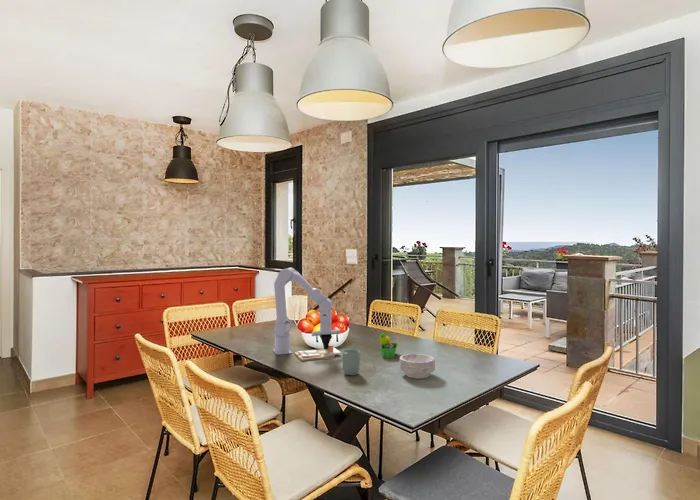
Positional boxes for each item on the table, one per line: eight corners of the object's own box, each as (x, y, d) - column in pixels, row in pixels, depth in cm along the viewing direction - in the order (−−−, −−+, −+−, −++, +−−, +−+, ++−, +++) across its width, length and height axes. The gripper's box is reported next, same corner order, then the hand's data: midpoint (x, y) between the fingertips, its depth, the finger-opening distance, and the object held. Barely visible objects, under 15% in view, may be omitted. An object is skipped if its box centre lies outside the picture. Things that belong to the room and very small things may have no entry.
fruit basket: (395, 359, 207) (395, 336, 207) (377, 357, 209) (378, 335, 209) (397, 353, 218) (397, 331, 218) (380, 351, 220) (380, 330, 220)
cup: (344, 377, 179) (345, 354, 178) (340, 372, 186) (340, 349, 186) (362, 376, 181) (362, 353, 180) (357, 370, 188) (357, 348, 188)
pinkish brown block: (324, 350, 219) (324, 342, 219) (334, 349, 221) (334, 341, 221) (330, 355, 209) (330, 347, 209) (341, 353, 212) (341, 346, 211)
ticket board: (294, 354, 215) (294, 350, 215) (325, 350, 221) (325, 347, 221) (301, 361, 202) (301, 357, 202) (334, 357, 208) (334, 354, 208)
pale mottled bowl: (410, 368, 193) (411, 351, 193) (440, 375, 183) (441, 357, 183) (392, 376, 181) (392, 358, 181) (423, 384, 171) (423, 364, 171)
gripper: (314, 325, 207) (314, 352, 207) (341, 323, 212) (341, 349, 213) (310, 322, 213) (310, 348, 214) (337, 320, 219) (336, 346, 219)
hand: (325, 349), depth 214 cm, fingers closed
